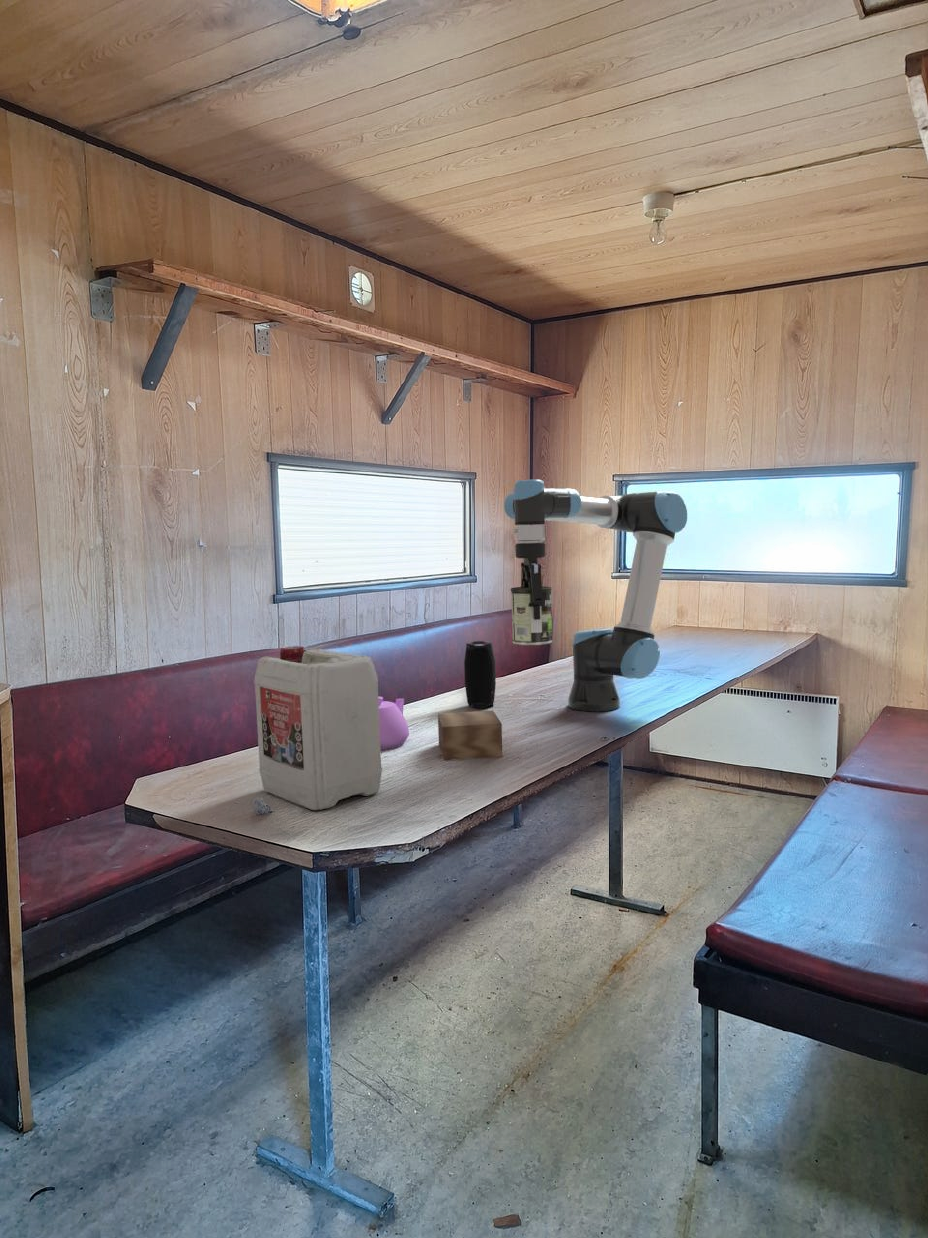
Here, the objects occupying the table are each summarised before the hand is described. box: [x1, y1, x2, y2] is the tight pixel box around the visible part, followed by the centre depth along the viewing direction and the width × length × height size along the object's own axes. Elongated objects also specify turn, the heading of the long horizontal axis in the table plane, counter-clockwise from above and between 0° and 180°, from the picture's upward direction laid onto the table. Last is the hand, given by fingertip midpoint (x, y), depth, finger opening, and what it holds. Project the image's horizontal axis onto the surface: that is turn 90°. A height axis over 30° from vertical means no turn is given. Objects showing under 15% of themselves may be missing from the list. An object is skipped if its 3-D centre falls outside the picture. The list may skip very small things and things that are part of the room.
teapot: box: [378, 695, 410, 751], centre depth 205 cm, size 22×16×12 cm
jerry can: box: [253, 645, 383, 811], centre depth 166 cm, size 24×19×30 cm
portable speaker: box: [463, 640, 497, 710], centre depth 243 cm, size 9×9×20 cm
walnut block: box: [437, 710, 504, 761], centre depth 195 cm, size 14×14×8 cm
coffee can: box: [510, 585, 553, 646], centre depth 204 cm, size 10×10×14 cm
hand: (532, 629), depth 204 cm, fingers closed on coffee can, 10 cm apart
